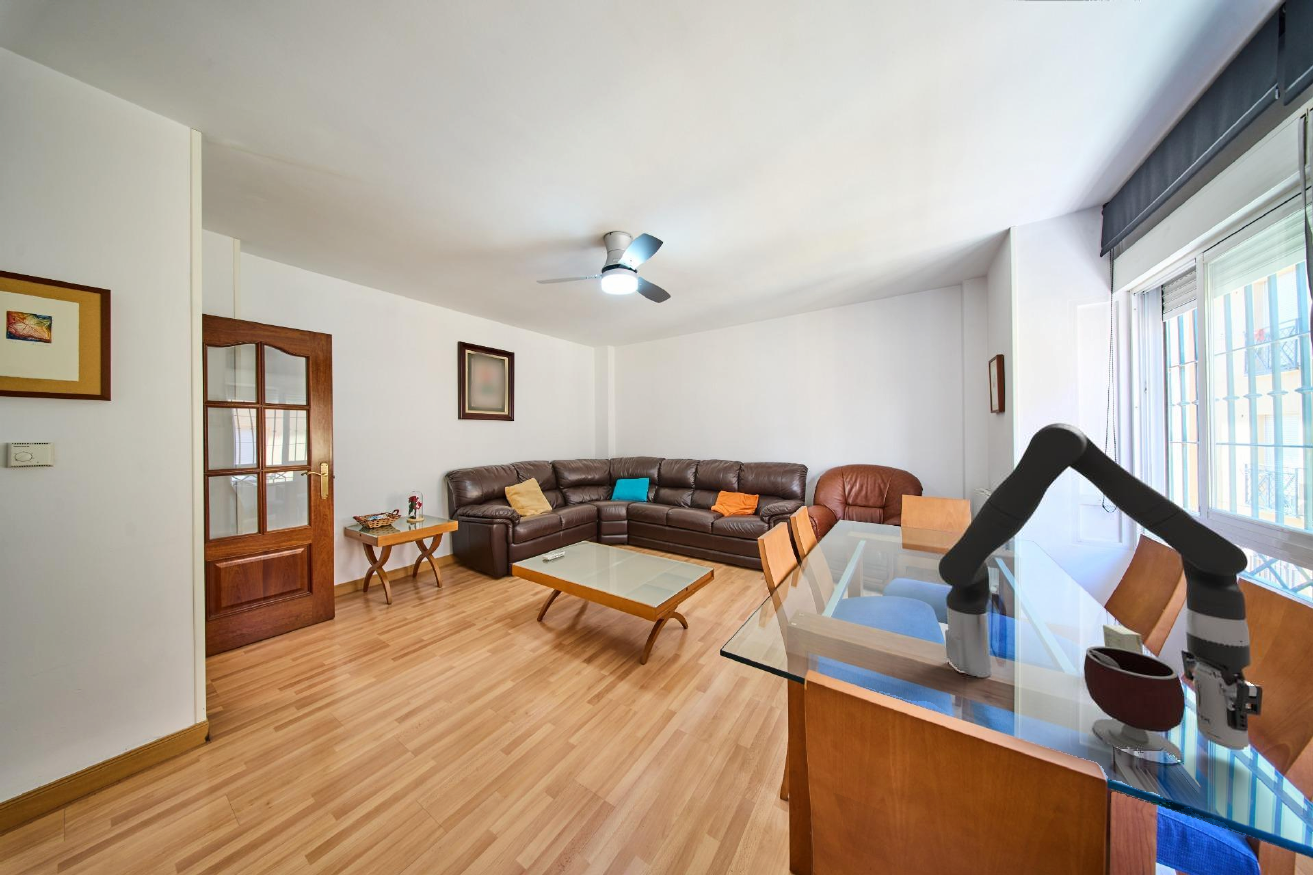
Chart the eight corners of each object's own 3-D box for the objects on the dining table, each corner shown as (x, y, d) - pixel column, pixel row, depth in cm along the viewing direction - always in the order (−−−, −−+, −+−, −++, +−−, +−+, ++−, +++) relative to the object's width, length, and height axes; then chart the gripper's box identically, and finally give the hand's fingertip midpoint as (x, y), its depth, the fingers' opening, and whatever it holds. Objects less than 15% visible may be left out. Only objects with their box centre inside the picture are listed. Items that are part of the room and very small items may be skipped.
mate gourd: (1127, 717, 93) (1120, 630, 93) (1212, 764, 79) (1204, 662, 80) (1063, 722, 92) (1057, 634, 93) (1137, 770, 79) (1129, 667, 79)
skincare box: (1146, 682, 105) (1143, 635, 106) (1126, 681, 106) (1123, 634, 107) (1123, 668, 112) (1120, 624, 112) (1105, 667, 113) (1101, 623, 113)
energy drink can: (1194, 725, 85) (1190, 655, 86) (1243, 739, 81) (1239, 665, 81) (1201, 741, 81) (1197, 667, 81) (1253, 757, 77) (1249, 678, 77)
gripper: (1283, 655, 73) (1288, 748, 73) (1209, 621, 87) (1214, 699, 87) (1224, 649, 76) (1229, 738, 76) (1161, 617, 89) (1165, 693, 89)
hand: (1221, 717), depth 81 cm, fingers closed on energy drink can, 6 cm apart
